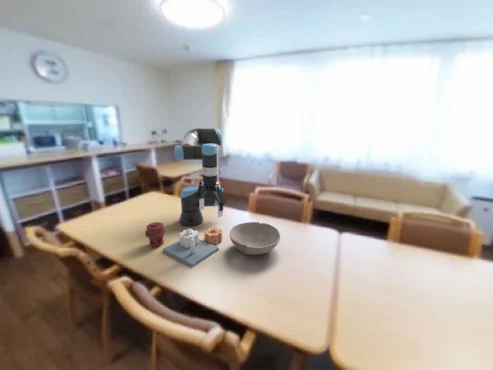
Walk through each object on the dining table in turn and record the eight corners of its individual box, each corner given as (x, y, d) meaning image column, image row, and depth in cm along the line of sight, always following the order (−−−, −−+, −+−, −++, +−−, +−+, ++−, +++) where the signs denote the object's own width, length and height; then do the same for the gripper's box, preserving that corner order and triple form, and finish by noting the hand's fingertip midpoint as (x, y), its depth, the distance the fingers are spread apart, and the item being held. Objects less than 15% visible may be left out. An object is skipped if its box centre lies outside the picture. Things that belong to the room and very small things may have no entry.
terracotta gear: (212, 234, 139) (212, 226, 137) (225, 239, 134) (225, 230, 132) (200, 241, 131) (200, 232, 130) (213, 246, 126) (213, 237, 124)
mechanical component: (170, 241, 131) (160, 250, 121) (153, 238, 133) (142, 248, 123) (168, 220, 127) (158, 229, 118) (151, 218, 129) (140, 226, 120)
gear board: (189, 237, 135) (188, 222, 133) (218, 250, 123) (218, 233, 121) (162, 251, 121) (161, 234, 118) (192, 267, 109) (191, 249, 106)
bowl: (285, 243, 131) (286, 227, 128) (269, 270, 108) (270, 251, 105) (243, 233, 141) (243, 217, 138) (219, 256, 118) (219, 238, 115)
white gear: (187, 236, 133) (187, 227, 131) (202, 240, 129) (201, 231, 127) (176, 244, 124) (175, 235, 123) (191, 249, 120) (190, 239, 119)
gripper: (187, 172, 125) (189, 209, 131) (223, 180, 111) (223, 221, 117) (198, 169, 131) (199, 205, 137) (233, 177, 117) (233, 216, 123)
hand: (210, 213), depth 127 cm, fingers open, 13 cm apart
